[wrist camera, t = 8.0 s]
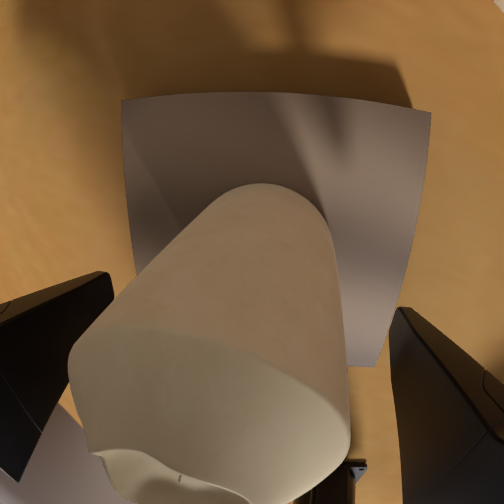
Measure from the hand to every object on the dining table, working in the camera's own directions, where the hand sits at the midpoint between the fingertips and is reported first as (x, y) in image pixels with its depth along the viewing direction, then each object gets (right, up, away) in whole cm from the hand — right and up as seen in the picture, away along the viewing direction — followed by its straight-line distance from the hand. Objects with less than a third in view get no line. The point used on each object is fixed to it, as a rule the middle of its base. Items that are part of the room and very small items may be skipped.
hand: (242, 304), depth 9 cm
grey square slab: (+1, +2, +5) cm, 6 cm away
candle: (+1, +2, +4) cm, 4 cm away
